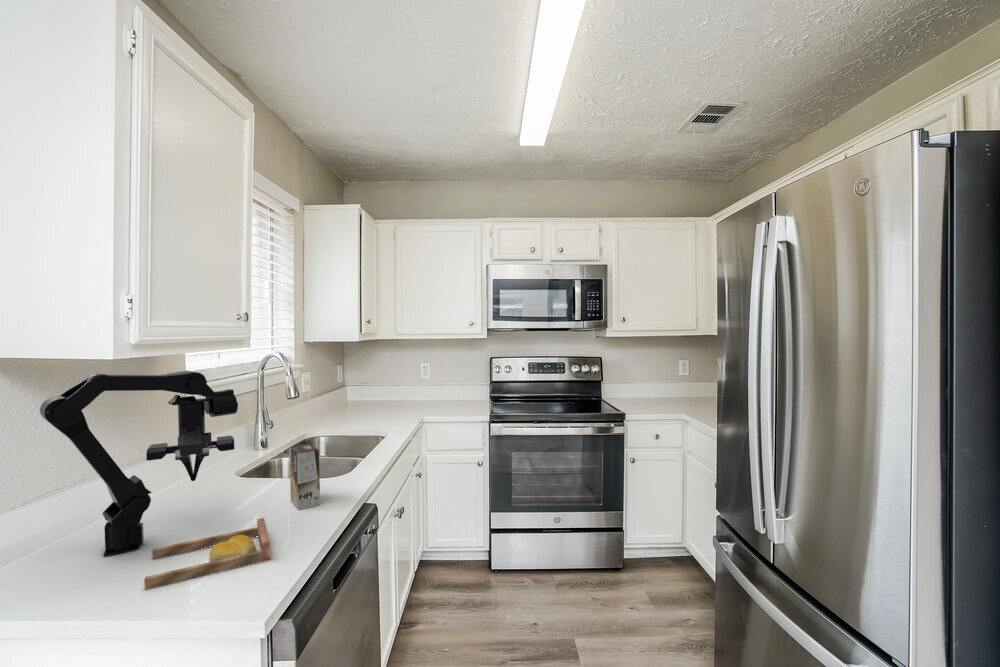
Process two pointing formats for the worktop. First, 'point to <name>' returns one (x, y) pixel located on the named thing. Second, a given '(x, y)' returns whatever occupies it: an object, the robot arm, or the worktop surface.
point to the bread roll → (232, 548)
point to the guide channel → (210, 566)
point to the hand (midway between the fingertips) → (193, 480)
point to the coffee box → (304, 476)
